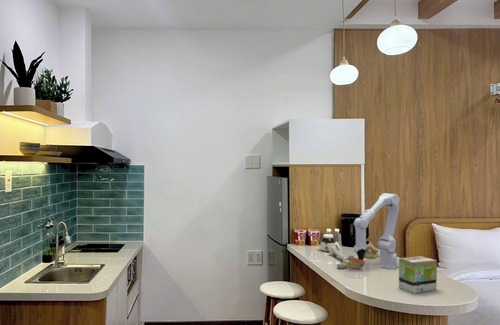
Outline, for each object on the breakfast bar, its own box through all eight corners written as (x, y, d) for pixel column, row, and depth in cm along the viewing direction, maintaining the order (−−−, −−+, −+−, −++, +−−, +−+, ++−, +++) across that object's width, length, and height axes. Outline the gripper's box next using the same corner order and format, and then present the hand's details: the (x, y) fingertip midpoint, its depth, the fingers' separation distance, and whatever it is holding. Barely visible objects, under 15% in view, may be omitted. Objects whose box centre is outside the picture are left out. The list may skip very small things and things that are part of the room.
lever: (347, 259, 223) (347, 255, 223) (351, 259, 224) (351, 255, 224) (362, 264, 212) (362, 260, 212) (366, 264, 213) (366, 260, 213)
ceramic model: (362, 253, 259) (362, 239, 259) (379, 255, 254) (379, 240, 255) (360, 258, 246) (360, 242, 246) (378, 259, 241) (378, 244, 242)
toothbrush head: (343, 258, 229) (328, 244, 253) (343, 268, 230) (328, 254, 254) (351, 257, 230) (335, 244, 254) (351, 268, 231) (335, 253, 255)
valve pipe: (359, 263, 230) (359, 257, 230) (366, 265, 225) (366, 259, 225) (335, 267, 220) (335, 261, 220) (342, 270, 215) (342, 263, 215)
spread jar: (319, 251, 265) (319, 234, 265) (328, 249, 273) (328, 233, 273) (333, 254, 256) (333, 237, 257) (342, 251, 264) (342, 235, 264)
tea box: (414, 294, 174) (414, 262, 174) (398, 287, 183) (398, 257, 184) (437, 290, 180) (437, 259, 180) (420, 284, 189) (420, 255, 190)
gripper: (359, 236, 225) (359, 258, 225) (348, 239, 214) (348, 263, 214) (370, 237, 221) (370, 260, 221) (360, 241, 210) (360, 265, 210)
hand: (360, 262), depth 217 cm, fingers closed, pressing on lever
